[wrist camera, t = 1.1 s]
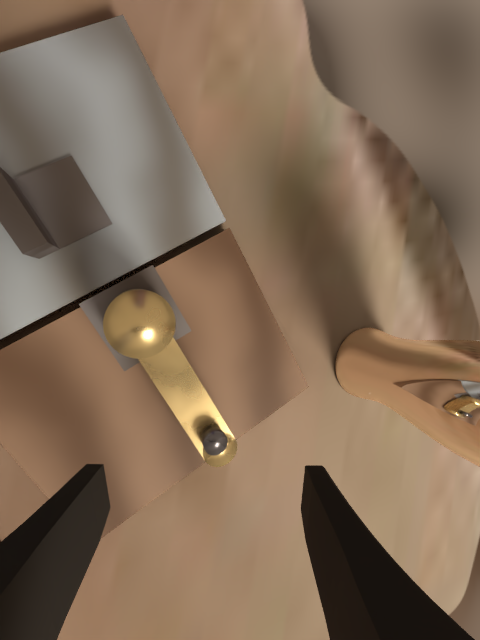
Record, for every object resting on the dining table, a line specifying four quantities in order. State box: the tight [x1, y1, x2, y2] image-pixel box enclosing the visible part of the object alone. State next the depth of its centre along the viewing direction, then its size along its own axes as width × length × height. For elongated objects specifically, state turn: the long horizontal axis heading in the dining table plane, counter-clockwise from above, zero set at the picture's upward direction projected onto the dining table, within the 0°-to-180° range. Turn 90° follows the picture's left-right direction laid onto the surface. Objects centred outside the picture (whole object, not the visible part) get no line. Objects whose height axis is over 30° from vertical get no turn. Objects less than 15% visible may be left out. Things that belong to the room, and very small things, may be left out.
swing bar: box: [103, 289, 237, 467], centre depth 19 cm, size 12×4×3 cm, turn 28°
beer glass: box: [335, 328, 480, 467], centre depth 20 cm, size 7×7×15 cm
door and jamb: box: [0, 15, 309, 538], centre depth 18 cm, size 18×26×4 cm
